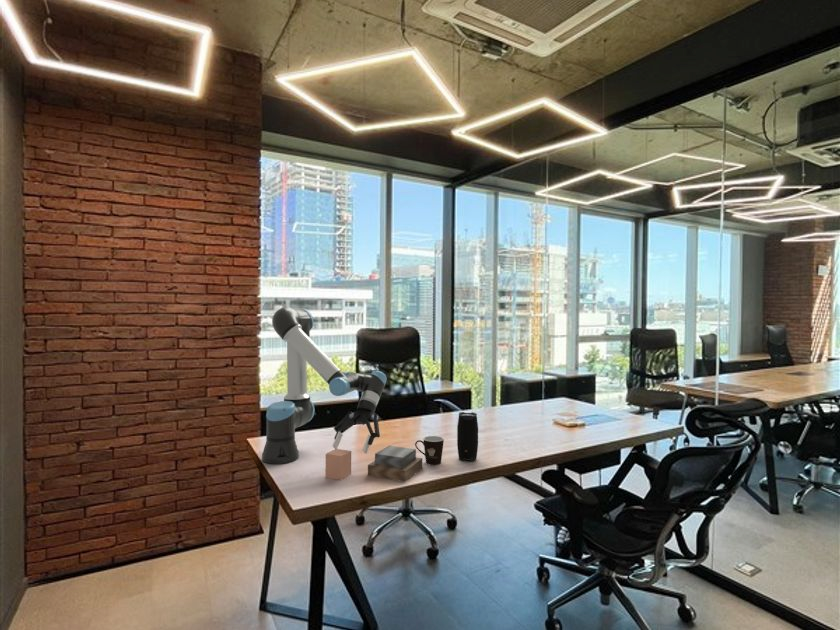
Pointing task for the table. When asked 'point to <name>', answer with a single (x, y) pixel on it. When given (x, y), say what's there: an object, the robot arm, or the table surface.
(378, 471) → the block tower
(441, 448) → the coffee mug
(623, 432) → the table surface
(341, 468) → the terracotta brick
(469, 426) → the portable speaker
